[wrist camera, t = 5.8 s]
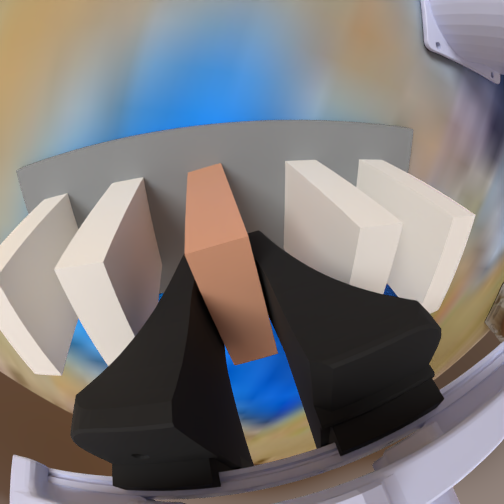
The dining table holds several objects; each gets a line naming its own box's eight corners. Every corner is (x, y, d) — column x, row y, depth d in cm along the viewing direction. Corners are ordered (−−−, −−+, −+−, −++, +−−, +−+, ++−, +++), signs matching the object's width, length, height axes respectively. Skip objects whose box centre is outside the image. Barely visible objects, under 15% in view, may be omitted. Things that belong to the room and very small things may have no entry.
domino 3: (220, 163, 12) (248, 236, 7) (244, 249, 15) (277, 353, 10) (187, 172, 12) (184, 254, 7) (215, 257, 15) (234, 365, 9)
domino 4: (315, 159, 13) (403, 223, 7) (309, 244, 16) (368, 334, 10) (285, 161, 13) (360, 227, 7) (283, 248, 16) (333, 344, 10)
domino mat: (407, 127, 13) (413, 129, 13) (386, 253, 18) (389, 257, 18) (20, 168, 10) (16, 170, 10) (69, 298, 15) (67, 303, 15)
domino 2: (143, 177, 12) (103, 261, 6) (162, 264, 15) (154, 373, 9) (112, 182, 12) (53, 269, 6) (134, 268, 15) (115, 375, 9)
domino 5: (382, 159, 14) (475, 215, 8) (370, 236, 17) (438, 310, 11) (359, 159, 14) (453, 217, 8) (348, 239, 16) (415, 318, 11)
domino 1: (67, 193, 11) (-4, 278, 6) (94, 273, 14) (61, 375, 8) (44, 199, 11) (-29, 282, 5) (72, 276, 14) (35, 374, 8)
